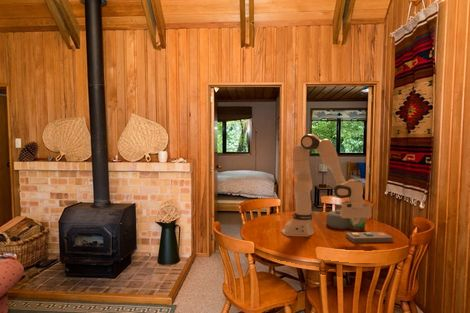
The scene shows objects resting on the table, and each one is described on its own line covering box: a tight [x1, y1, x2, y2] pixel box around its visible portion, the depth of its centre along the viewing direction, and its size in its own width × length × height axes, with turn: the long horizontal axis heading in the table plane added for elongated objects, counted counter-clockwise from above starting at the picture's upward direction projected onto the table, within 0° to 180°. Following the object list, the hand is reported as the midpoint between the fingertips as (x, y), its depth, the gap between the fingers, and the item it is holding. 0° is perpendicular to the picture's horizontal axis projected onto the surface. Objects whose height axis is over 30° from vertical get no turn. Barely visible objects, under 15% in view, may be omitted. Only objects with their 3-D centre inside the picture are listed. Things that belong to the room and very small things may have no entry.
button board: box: [345, 231, 394, 244], centre depth 196 cm, size 26×12×3 cm, turn 92°
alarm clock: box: [325, 209, 351, 230], centre depth 230 cm, size 19×20×12 cm
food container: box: [349, 218, 368, 232], centre depth 216 cm, size 12×6×10 cm, turn 68°
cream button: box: [350, 232, 360, 236], centre depth 196 cm, size 4×4×2 cm
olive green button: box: [363, 231, 373, 236], centre depth 196 cm, size 4×4×2 cm
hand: (355, 224), depth 195 cm, fingers closed
